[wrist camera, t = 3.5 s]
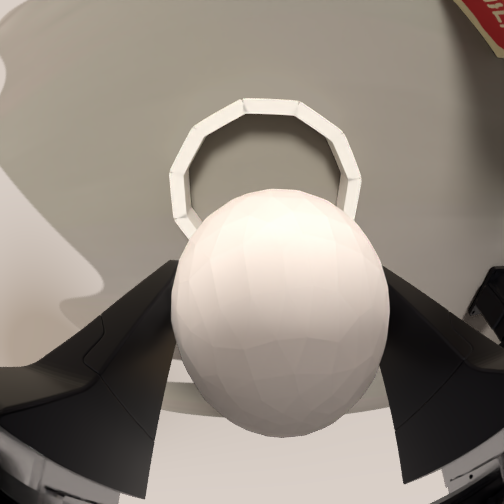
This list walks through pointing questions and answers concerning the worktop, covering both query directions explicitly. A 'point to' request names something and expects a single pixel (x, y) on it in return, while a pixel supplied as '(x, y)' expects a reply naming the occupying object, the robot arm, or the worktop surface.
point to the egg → (280, 312)
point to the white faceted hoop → (198, 133)
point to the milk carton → (487, 21)
